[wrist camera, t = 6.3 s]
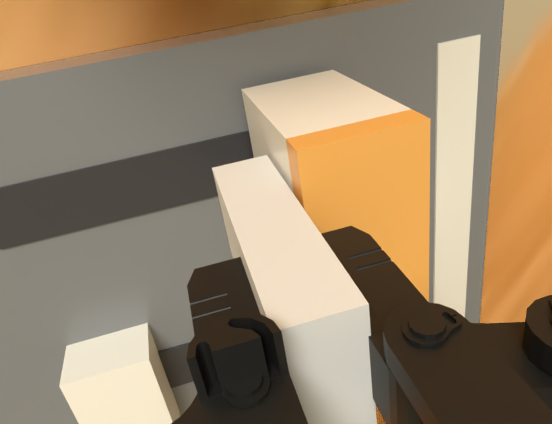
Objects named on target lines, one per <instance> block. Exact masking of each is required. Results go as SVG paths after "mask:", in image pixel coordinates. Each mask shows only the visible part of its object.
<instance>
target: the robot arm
mask: <svg viewBox="0 0 552 424" xmlns="http://www.w3.org/2000/svg"><path fill="white" fill-rule="evenodd" d="M212 171H213V175H214V179H215V184H216V188H217V192H218V197H219V201H220V205H221V210H222V214H223V219H224V223H225V227H226V232H227V236H228V240H229V245H230V249H231V253H232V257H233V259H230V260H226V261H223V262H219V263H215V264H211V265H208V266H204V267H200V268H196V269H194V271H193V273H192V276H191V278H190V280H189V282H188V285H187V289H188V296H189V302H190V309H191V316H192V322H193V329H194V335H195V336H194V337H193V339H192V340H191V342H190V344H189V345H188V351H187V358H186V360H187V363H188V366H189V369H190V372H191V375H192V378H193V381H194V384H195V387H196V390H197V395H196V397H195V399H194V400H193V402H192V404H191V405H190V407H189V408H188V409H187V410H186V411H185V412H184V413H183V414H182V415H181V416H180V417H179V418H178V419H176V420H175V421H174V422H172V423H171V424H377V418H376V405H377V407H378V409H379V411H380V413H381V414H382V416H383V418H384V420H385V422H386V424H552V295H549V296H546V297H543V298H540V299H538V300H535V301H534V302H533V303H532V304H531V305H530V306H529V307H528V308H527V313H526V320H525V322H515V323H490V324H484V323H470V322H469V321H468V320H467V319H466V318H465V317H463V316H462V315H461V314H459V313H458V312H457V311H456V310H454V309H452V308H449V307H446V306H444V305H441V304H437V303H429V302H428V301H427V300H426V299H425V298H424V296H423V295H422V294H421V293H420V292H419V291H418V289H417V288H416V287H415V286H414V285H413V284H412V283H411V281H410V280H409V279H408V278H407V277H406V276H405V274H404V273H403V272H402V271H401V270H400V269H399V268H398V266H397V265H396V264H395V263H394V262H392V261H391V258H390V257H389V256H388V255H387V254H386V253H385V251H384V250H383V251H382V249H381V247H380V246H379V244H378V243H377V242H376V241H375V240H374V239H373V238H372V236H371V235H370V234H368V233H366V232H364V231H362V230H359V229H357V228H355V227H353V226H348V227H344V228H340V229H337V230H333V231H329V232H325V233H322V234H321V233H320V232H319V230H318V229H317V227H316V226H315V225H314V223H313V222H312V220H311V219H310V217H309V216H308V214H307V213H306V211H305V210H304V208H303V207H302V206H301V204H300V203H299V201H298V200H297V198H296V197H295V195H294V194H293V192H292V191H291V189H290V188H289V187H288V185H287V184H286V182H285V181H284V179H283V178H282V176H281V175H280V173H279V172H278V171H277V169H276V168H275V166H274V165H273V163H272V162H271V160H270V159H269V157H268V156H267V155H264V156H260V157H256V158H252V159H247V160H243V161H239V162H235V163H230V164H226V165H222V166H218V167H213V168H212Z"/></svg>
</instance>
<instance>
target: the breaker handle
mask: <svg viewBox="0 0 552 424" xmlns="http://www.w3.org/2000/svg"><path fill="white" fill-rule="evenodd" d="M241 90H242V96H243V101H244V107H245V112H246V118H247V123H248V129H249V134H250V140H251V145H252V151H253V156H254V158H256V157H260V156H264V155H267V156H268V157H269V159H270V160H271V162H272V163H273V165H274V166H275V168H276V169H277V171H278V172H279V173H280V175H281V176H282V178H283V179H284V181H285V182H286V184H287V185H288V187H289V188H290V189H291V191H292V192H293V194H294V195H295V197H296V198H297V200H298V201H299V203H300V204H301V206H302V207H303V208H304V210H305V211H306V213H307V214H308V216H309V217H310V219H311V220H312V222H313V223H314V225H315V226H316V227H317V229H318V230H319V232H320V233H321V234H322V233H325V232H329V231H333V230H337V229H340V228H344V227H348V226H353V227H355V228H357V229H359V230H362V231H364V232H366V233H368V234H370V235H371V236H372V238H373V239H374V240H375V241H376V242H377V243H378V244H379V246H380V247H381V249H382V251H383V250H384V251H385V253H386V254H387V255H388V256H389V257H390V258H391V261H392V262H394V263H395V264H396V265H397V266H398V268H399V269H400V270H401V271H402V272H403V273H404V274H405V276H406V277H407V278H408V279H409V280H410V281H411V283H412V284H413V285H414V286H415V287H416V288H417V289H418V291H419V292H420V293H421V294H422V295H423V296H424V298H425V299H426V300H427V301H429V228H430V118H428V117H426V116H424V115H422V114H420V113H418V112H416V111H414V110H412V109H410V108H408V107H406V106H404V105H402V104H400V103H398V102H396V101H394V100H392V99H390V98H388V97H386V96H384V95H382V94H380V93H378V92H377V91H375V90H373V89H371V88H369V87H367V86H365V85H363V84H361V83H359V82H357V81H355V80H353V79H351V78H349V77H347V76H345V75H343V74H341V73H339V72H337V71H335V70H329V71H324V72H319V73H315V74H310V75H305V76H301V77H296V78H291V79H287V80H282V81H278V82H273V83H268V84H264V85H259V86H254V87H250V88H245V89H241Z"/></svg>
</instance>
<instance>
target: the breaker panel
mask: <svg viewBox="0 0 552 424" xmlns="http://www.w3.org/2000/svg"><path fill="white" fill-rule="evenodd" d="M503 10H504V0H368V1H363V2H358V3H353V4H348V5H342V6H337V7H332V8H327V9H322V10H316V11H311V12H306V13H301V14H296V15H291V16H285V17H280V18H275V19H270V20H265V21H259V22H254V23H249V24H244V25H239V26H233V27H228V28H223V29H218V30H213V31H208V32H202V33H197V34H192V35H187V36H182V37H176V38H171V39H166V40H161V41H156V42H150V43H145V44H140V45H135V46H130V47H125V48H119V49H114V50H109V51H104V52H99V53H93V54H88V55H83V56H78V57H73V58H67V59H62V60H57V61H52V62H47V63H42V64H36V65H31V66H26V67H21V68H16V69H10V70H5V71H0V424H171V423H172V422H174V421H175V420H176V419H178V418H179V417H180V416H181V415H182V414H183V413H184V412H185V411H186V410H187V409H188V408H189V407H190V405H191V404H192V402H193V400H194V399H195V397H196V395H197V390H196V387H195V384H194V381H193V378H192V375H191V372H190V369H189V366H188V363H187V360H186V358H187V351H188V345H189V344H190V342H191V340H192V339H193V337H194V336H195V335H194V329H193V322H192V316H191V309H190V302H189V296H188V289H187V285H188V282H189V280H190V278H191V276H192V273H193V271H194V269H196V268H200V267H204V266H208V265H211V264H215V263H219V262H223V261H226V260H230V259H233V257H232V253H231V249H230V245H229V240H228V236H227V232H226V227H225V223H224V219H223V214H222V210H221V205H220V201H219V197H218V192H217V188H216V184H215V179H214V175H213V171H212V168H213V167H218V166H222V165H226V164H230V163H235V162H239V161H243V160H247V159H252V158H254V156H253V151H252V145H251V140H250V134H249V129H248V123H247V118H246V112H245V107H244V101H243V96H242V90H241V89H245V88H250V87H254V86H259V85H264V84H268V83H273V82H278V81H282V80H287V79H291V78H296V77H301V76H305V75H310V74H315V73H319V72H324V71H329V70H335V71H337V72H339V73H341V74H343V75H345V76H347V77H349V78H351V79H353V80H355V81H357V82H359V83H361V84H363V85H365V86H367V87H369V88H371V89H373V90H375V91H377V92H378V93H380V94H382V95H384V96H386V97H388V98H390V99H392V100H394V101H396V102H398V103H400V104H402V105H404V106H406V107H408V108H410V109H412V110H414V111H416V112H418V113H420V114H422V115H424V116H426V117H428V118H430V228H429V301H428V302H429V303H437V304H441V305H444V306H446V307H449V308H452V309H454V310H456V311H457V312H458V313H459V314H461V315H462V316H463V317H465V318H466V319H467V320H468V321H469V322H470V323H480V312H481V299H482V285H483V272H484V259H485V246H486V233H487V220H488V207H489V194H490V180H491V167H492V154H493V141H494V128H495V115H496V102H497V89H498V76H499V62H500V49H501V35H502V23H503Z"/></svg>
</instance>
